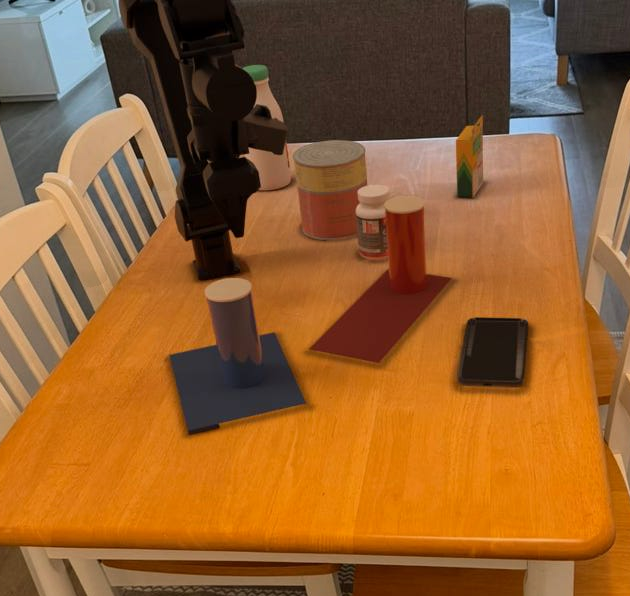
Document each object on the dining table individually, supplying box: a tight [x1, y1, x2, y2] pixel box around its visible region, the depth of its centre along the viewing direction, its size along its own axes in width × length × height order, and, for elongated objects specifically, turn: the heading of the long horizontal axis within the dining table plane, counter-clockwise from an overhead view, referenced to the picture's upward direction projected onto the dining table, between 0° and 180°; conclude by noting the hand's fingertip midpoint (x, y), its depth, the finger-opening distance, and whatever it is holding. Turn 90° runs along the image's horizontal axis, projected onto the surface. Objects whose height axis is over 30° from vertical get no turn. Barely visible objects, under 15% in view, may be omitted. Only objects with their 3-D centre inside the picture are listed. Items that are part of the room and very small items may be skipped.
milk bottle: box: [241, 64, 292, 191], centre depth 155 cm, size 8×8×20 cm
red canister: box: [384, 195, 427, 294], centre depth 121 cm, size 5×5×12 cm
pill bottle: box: [356, 184, 391, 260], centre depth 132 cm, size 6×6×10 cm
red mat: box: [308, 268, 452, 364], centre depth 119 cm, size 24×10×1 cm, turn 154°
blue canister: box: [204, 277, 266, 388], centre depth 105 cm, size 5×5×12 cm
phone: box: [456, 316, 529, 388], centre depth 109 cm, size 8×1×15 cm
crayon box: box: [455, 114, 484, 199], centre depth 148 cm, size 7×3×12 cm, turn 160°
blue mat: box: [168, 332, 307, 435], centre depth 109 cm, size 18×14×1 cm
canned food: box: [292, 139, 369, 241], centre depth 141 cm, size 11×11×12 cm
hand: (233, 223), depth 115 cm, fingers open, 9 cm apart
